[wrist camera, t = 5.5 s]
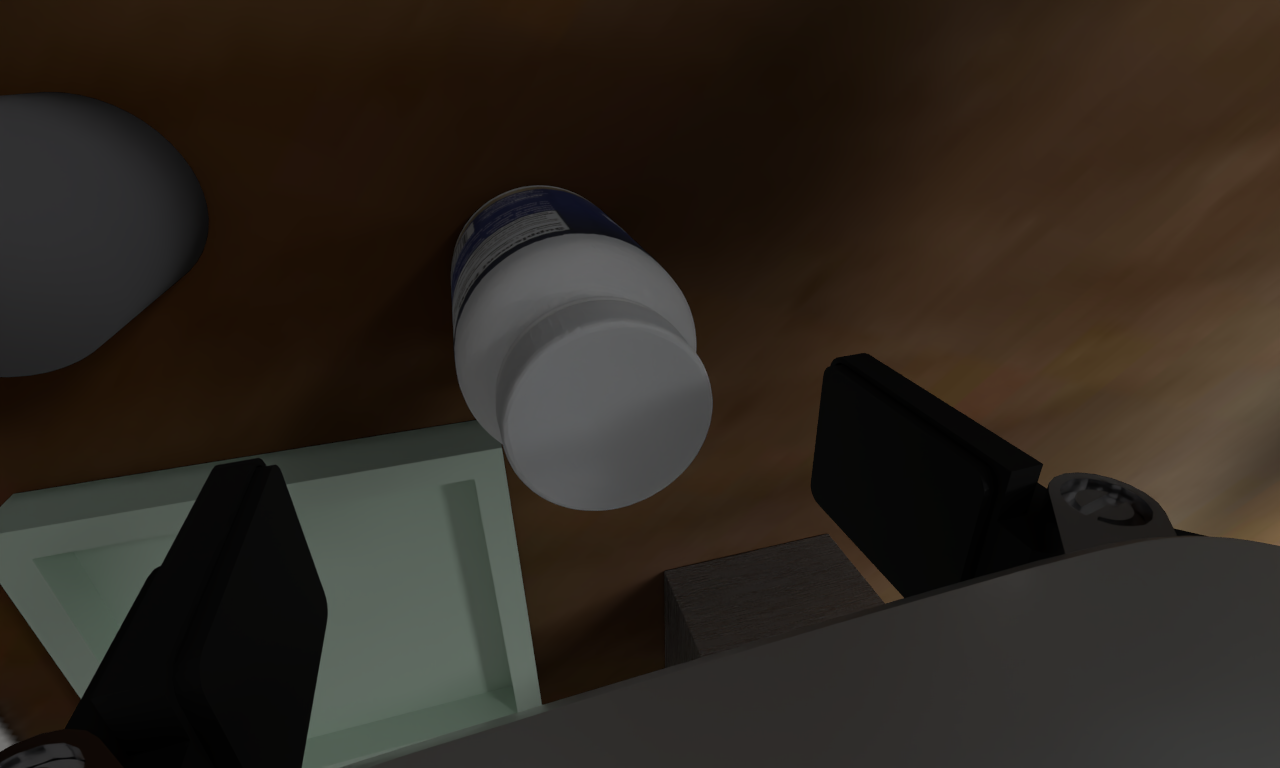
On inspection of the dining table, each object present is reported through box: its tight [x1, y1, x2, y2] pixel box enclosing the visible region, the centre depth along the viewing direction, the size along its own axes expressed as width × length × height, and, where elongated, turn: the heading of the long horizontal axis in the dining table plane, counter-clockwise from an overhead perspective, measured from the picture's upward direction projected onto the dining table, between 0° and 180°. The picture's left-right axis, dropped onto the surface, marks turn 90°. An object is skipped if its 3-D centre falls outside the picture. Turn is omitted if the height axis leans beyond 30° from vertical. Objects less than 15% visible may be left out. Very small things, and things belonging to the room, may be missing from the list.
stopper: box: [0, 92, 209, 377], centre depth 14 cm, size 5×5×5 cm
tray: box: [0, 420, 542, 768], centre depth 22 cm, size 14×14×2 cm
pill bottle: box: [451, 185, 713, 511], centre depth 15 cm, size 5×5×10 cm
